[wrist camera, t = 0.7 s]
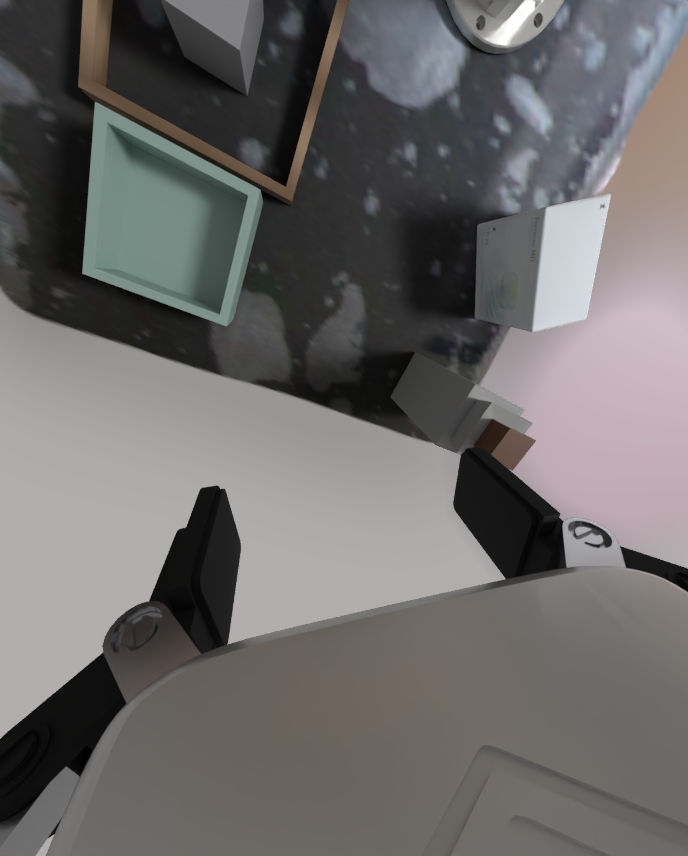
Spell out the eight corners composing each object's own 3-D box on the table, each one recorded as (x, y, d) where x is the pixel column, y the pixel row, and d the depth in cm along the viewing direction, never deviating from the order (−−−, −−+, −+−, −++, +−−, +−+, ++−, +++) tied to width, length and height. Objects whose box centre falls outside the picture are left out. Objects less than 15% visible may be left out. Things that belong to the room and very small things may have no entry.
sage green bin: (126, 132, 25) (95, 101, 21) (263, 202, 29) (260, 189, 25) (111, 274, 29) (82, 273, 25) (233, 319, 33) (226, 326, 29)
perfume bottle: (454, 372, 42) (562, 430, 26) (428, 413, 44) (513, 490, 28) (415, 351, 39) (509, 402, 23) (390, 396, 41) (460, 470, 25)
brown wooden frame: (116, -233, 18) (99, -287, 17) (356, -26, 24) (362, -50, 22) (92, 100, 24) (78, 86, 22) (290, 205, 30) (291, 201, 28)
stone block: (197, -29, 22) (173, -122, 17) (263, 19, 24) (260, -53, 19) (184, 57, 24) (158, -5, 19) (247, 96, 26) (239, 50, 21)
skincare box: (473, 224, 34) (546, 205, 25) (525, 213, 34) (616, 190, 25) (471, 320, 39) (532, 333, 30) (517, 309, 39) (590, 319, 30)
